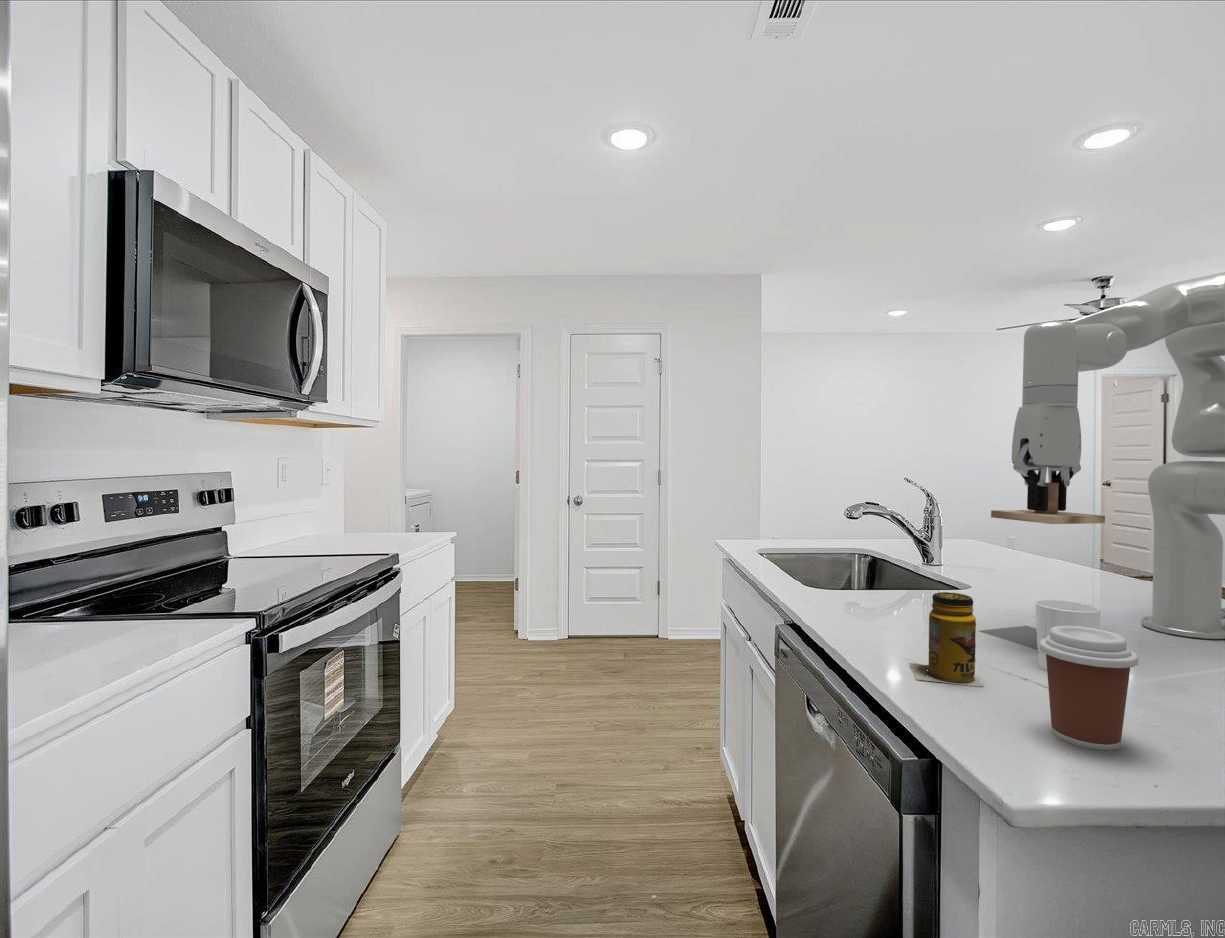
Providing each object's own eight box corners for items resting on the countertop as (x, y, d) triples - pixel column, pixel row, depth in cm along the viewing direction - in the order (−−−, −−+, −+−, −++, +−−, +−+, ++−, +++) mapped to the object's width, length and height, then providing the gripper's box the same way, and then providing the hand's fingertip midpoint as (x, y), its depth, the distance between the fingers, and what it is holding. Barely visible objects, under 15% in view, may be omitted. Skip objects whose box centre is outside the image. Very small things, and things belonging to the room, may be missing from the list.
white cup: (1110, 682, 90) (1112, 613, 89) (1049, 678, 91) (1050, 610, 91) (1081, 665, 97) (1082, 600, 97) (1025, 661, 99) (1026, 598, 99)
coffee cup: (1046, 746, 70) (1048, 639, 69) (1029, 715, 78) (1031, 619, 78) (1150, 763, 66) (1152, 649, 66) (1120, 728, 74) (1122, 628, 74)
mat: (1026, 627, 119) (1026, 625, 119) (1092, 646, 107) (1092, 643, 107) (977, 632, 115) (977, 630, 115) (1039, 652, 103) (1040, 650, 103)
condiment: (983, 687, 88) (984, 602, 87) (916, 680, 90) (917, 597, 90) (970, 670, 95) (971, 591, 94) (909, 665, 97) (910, 587, 97)
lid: (1040, 516, 111) (1041, 481, 110) (1104, 523, 100) (1105, 484, 100) (991, 517, 108) (991, 481, 107) (1052, 524, 97) (1053, 484, 97)
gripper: (1065, 403, 109) (1062, 508, 110) (990, 398, 105) (987, 508, 105) (1109, 399, 102) (1106, 511, 102) (1031, 394, 98) (1028, 512, 98)
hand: (1046, 509), depth 104 cm, fingers closed on lid, 3 cm apart
